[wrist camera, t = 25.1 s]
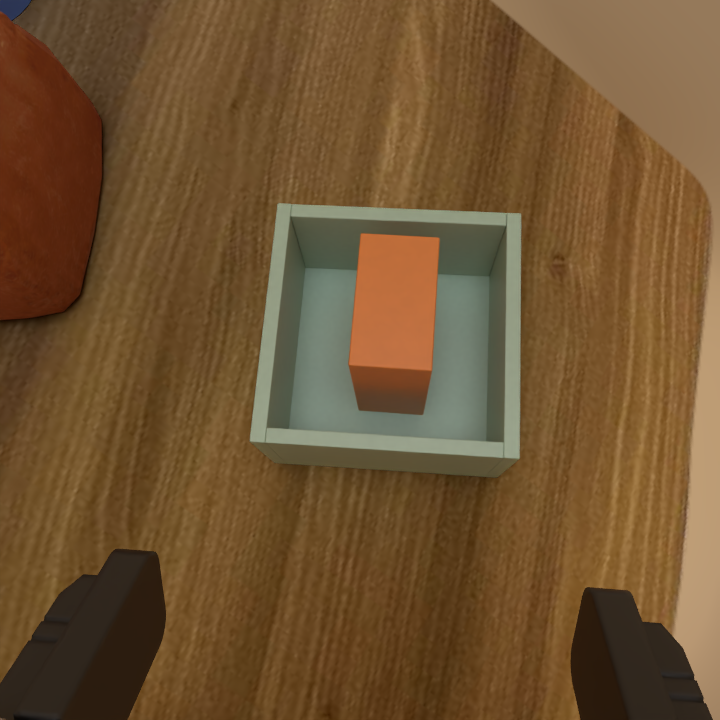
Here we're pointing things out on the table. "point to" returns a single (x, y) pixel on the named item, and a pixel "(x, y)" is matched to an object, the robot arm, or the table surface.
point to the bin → (333, 334)
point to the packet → (394, 322)
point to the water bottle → (13, 7)
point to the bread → (44, 178)
